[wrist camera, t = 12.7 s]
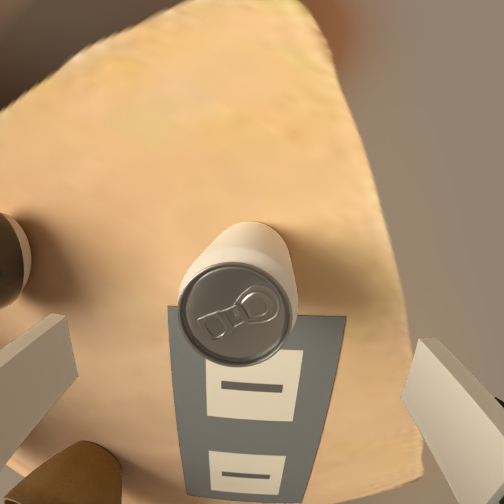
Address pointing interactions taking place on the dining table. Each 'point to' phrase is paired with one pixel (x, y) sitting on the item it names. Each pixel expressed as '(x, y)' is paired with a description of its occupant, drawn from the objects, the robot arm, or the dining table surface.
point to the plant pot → (72, 479)
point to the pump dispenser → (13, 260)
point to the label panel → (254, 414)
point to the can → (239, 297)
